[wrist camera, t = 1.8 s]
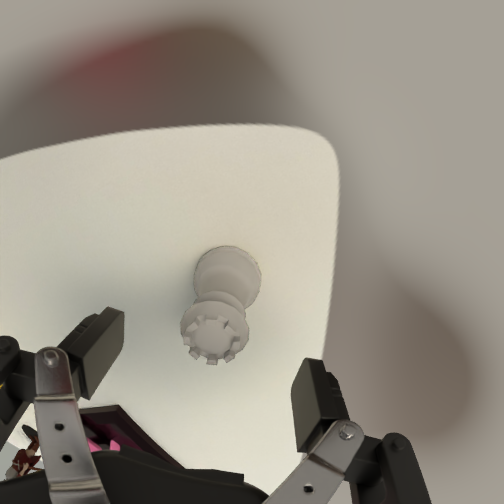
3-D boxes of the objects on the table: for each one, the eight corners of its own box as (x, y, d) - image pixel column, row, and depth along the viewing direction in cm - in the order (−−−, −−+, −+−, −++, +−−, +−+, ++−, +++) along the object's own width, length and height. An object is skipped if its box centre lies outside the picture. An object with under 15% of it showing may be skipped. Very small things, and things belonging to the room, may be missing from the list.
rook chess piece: (251, 311, 20) (248, 388, 13) (191, 295, 20) (158, 365, 12) (269, 253, 19) (275, 313, 11) (203, 236, 19) (168, 285, 11)
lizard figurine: (135, 486, 32) (124, 518, 25) (49, 410, 26) (26, 444, 19) (209, 487, 30) (203, 527, 22) (117, 403, 24) (92, 454, 17)
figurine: (30, 424, 29) (-7, 482, 14) (59, 452, 31) (30, 510, 16) (17, 424, 30) (-17, 475, 15) (44, 450, 32) (15, 502, 17)
